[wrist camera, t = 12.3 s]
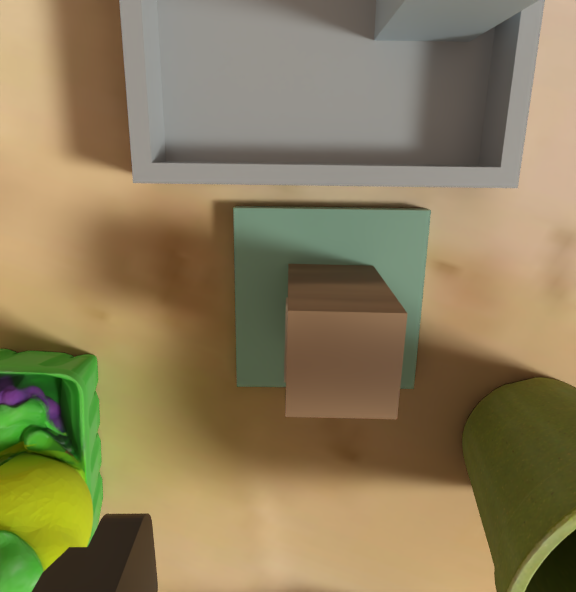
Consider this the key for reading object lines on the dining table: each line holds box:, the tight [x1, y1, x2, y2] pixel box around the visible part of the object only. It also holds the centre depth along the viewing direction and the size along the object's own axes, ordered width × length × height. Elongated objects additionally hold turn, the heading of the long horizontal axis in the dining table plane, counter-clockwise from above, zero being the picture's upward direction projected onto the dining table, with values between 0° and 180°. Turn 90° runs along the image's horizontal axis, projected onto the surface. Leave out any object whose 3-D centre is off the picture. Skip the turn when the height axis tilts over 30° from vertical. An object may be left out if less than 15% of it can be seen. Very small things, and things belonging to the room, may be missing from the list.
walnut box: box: [284, 264, 408, 419], centre depth 20 cm, size 4×4×7 cm
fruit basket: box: [0, 349, 103, 592], centre depth 21 cm, size 11×9×11 cm
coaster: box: [233, 206, 431, 389], centre depth 24 cm, size 9×9×1 cm
